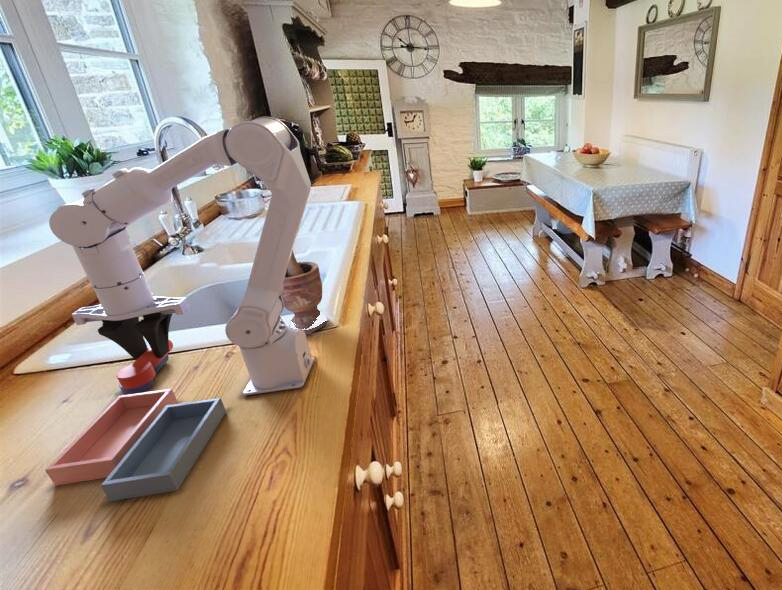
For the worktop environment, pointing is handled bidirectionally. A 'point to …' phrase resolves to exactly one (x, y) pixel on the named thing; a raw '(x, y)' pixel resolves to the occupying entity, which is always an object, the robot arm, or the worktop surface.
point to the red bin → (109, 437)
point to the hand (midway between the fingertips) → (153, 355)
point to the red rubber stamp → (140, 370)
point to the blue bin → (165, 450)
